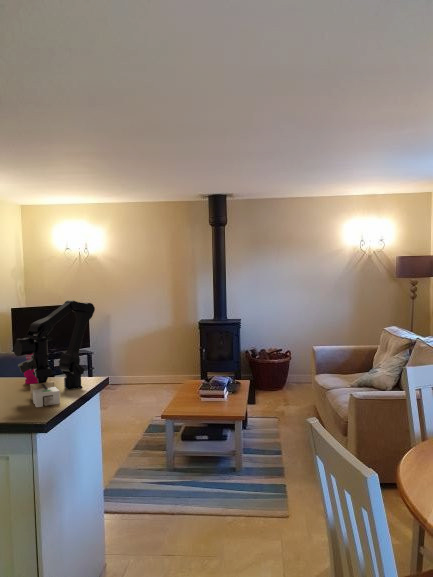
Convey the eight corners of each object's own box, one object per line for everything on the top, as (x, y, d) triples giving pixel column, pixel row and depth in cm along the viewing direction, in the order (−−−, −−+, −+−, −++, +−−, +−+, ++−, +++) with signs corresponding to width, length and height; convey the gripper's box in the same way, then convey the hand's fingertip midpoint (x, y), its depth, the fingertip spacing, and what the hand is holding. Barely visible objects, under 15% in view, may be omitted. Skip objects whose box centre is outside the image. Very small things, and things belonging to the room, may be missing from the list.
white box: (54, 395, 176) (53, 381, 176) (61, 404, 163) (61, 388, 163) (30, 399, 171) (30, 384, 171) (36, 408, 159) (36, 392, 158)
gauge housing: (55, 398, 172) (55, 386, 172) (59, 403, 165) (59, 390, 165) (33, 402, 168) (32, 389, 167) (36, 407, 161) (35, 394, 161)
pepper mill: (44, 381, 203) (42, 339, 203) (32, 385, 196) (31, 342, 196) (32, 380, 205) (30, 339, 205) (20, 384, 199) (19, 341, 198)
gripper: (16, 351, 179) (17, 387, 179) (21, 358, 163) (23, 398, 163) (44, 348, 185) (45, 383, 185) (52, 354, 169) (53, 393, 169)
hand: (41, 389), depth 175 cm, fingers closed
